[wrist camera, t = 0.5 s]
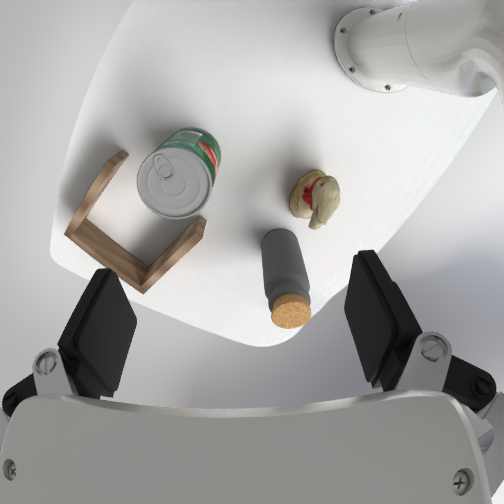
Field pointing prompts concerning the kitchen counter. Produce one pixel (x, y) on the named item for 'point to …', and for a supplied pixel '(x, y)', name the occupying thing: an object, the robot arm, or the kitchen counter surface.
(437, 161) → the kitchen counter surface
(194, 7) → the kitchen counter surface
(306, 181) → the chocolate bunny
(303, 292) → the bottle
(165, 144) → the canned tomato
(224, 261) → the kitchen counter surface
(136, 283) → the box
